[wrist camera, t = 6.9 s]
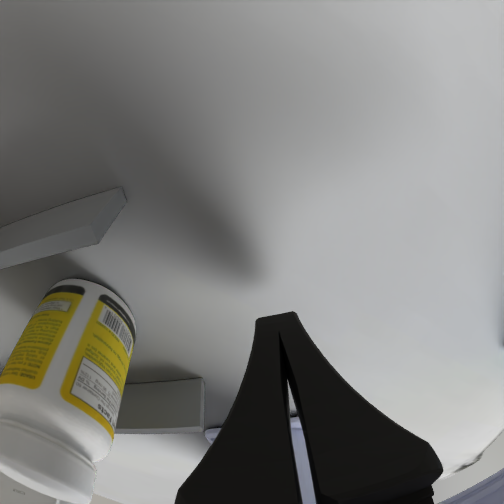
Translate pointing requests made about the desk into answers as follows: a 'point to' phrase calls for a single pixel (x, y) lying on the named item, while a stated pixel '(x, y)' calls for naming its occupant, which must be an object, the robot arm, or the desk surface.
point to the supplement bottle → (65, 390)
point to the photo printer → (23, 493)
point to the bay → (86, 234)
